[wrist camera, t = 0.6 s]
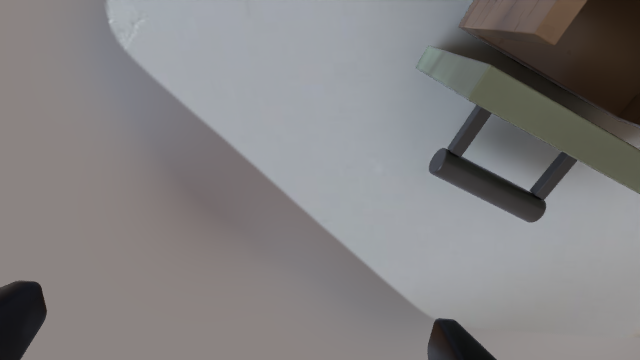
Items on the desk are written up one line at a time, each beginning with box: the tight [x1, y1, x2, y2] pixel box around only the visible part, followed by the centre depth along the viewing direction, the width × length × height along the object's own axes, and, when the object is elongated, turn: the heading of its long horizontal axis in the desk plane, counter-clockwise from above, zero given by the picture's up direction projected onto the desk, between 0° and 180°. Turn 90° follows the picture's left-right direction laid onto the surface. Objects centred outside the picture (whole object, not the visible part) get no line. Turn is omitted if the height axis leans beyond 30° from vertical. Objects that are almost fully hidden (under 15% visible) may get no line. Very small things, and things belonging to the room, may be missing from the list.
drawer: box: [416, 0, 640, 222], centre depth 15 cm, size 16×11×8 cm
